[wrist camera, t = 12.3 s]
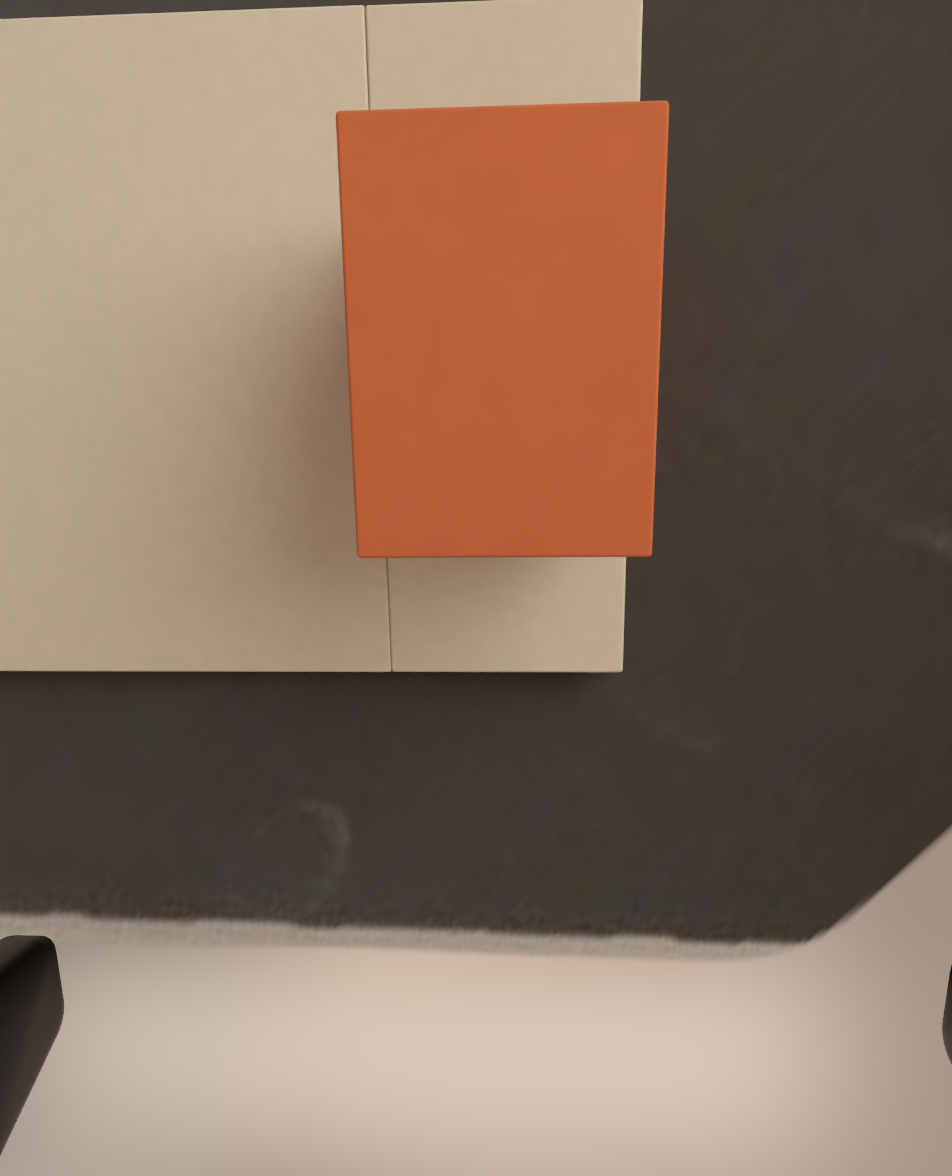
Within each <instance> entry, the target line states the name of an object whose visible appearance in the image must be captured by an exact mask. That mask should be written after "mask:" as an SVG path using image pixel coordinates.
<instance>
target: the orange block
mask: <svg viewBox="0 0 952 1176" xmlns="http://www.w3.org/2000/svg"><path fill="white" fill-rule="evenodd" d="M668 124H669V103H668V101H634V102H603V103H571V104H540V105H508V106H477V107H445V108H414V109H382V110H351V111H338V112H337V113H336V133H337V153H338V174H339V194H340V215H341V235H342V256H343V276H344V297H345V317H346V338H347V358H348V379H349V399H350V420H351V440H352V461H353V481H354V502H355V522H356V543H357V555H358V557H360V558H486V557H649V556H651V554H652V538H653V512H654V487H655V461H656V435H657V409H658V383H659V357H660V331H661V306H662V280H663V254H664V228H665V202H666V176H667V150H668Z"/></svg>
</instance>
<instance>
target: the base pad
mask: <svg viewBox="0 0 952 1176" xmlns="http://www.w3.org/2000/svg"><path fill="white" fill-rule="evenodd" d="M642 13H643V0H496V1H470V2H444V3H418V4H393V5H368V6H366V8H364V6H362V5H355V6H330V7H304V8H278V9H252V10H226V11H200V12H175V13H149V14H123V15H97V16H71V17H46V18H20V19H0V671H220V672H390V671H391V670H392V671H394V672H622V670H623V642H624V609H625V576H626V557H486V558H360V557H358V555H357V543H356V522H355V502H354V481H353V461H352V440H351V420H350V399H349V379H348V358H347V338H346V317H345V297H344V276H343V256H342V235H341V215H340V194H339V174H338V153H337V133H336V113H337V112H338V111H351V110H382V109H414V108H445V107H477V106H508V105H540V104H571V103H603V102H634V101H640V79H641V46H642Z"/></svg>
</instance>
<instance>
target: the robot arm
mask: <svg viewBox="0 0 952 1176" xmlns="http://www.w3.org/2000/svg"><path fill="white" fill-rule="evenodd" d="M63 1014H64V1000H63V994H62V987H61V980H60V974H59V967H58V960H57V954H56V949H55V945H54V944H53V942H52V940H51V939H49V938H47V937H45V936H21V935H15V936H8V937H5V938H3V939H1V940H0V1155H1V1153H2V1151H3V1149H4V1147H5V1144H6V1142H7V1140H8V1138H9V1136H10V1134H11V1132H12V1130H13V1128H14V1125H15V1123H16V1121H17V1119H18V1117H19V1115H20V1113H21V1111H22V1108H23V1106H24V1104H25V1102H26V1100H27V1098H28V1096H29V1094H30V1091H31V1089H32V1087H33V1085H34V1083H35V1081H36V1079H37V1077H38V1075H39V1072H40V1070H41V1068H42V1066H43V1064H44V1062H45V1060H46V1058H47V1055H48V1053H49V1051H50V1049H51V1047H52V1044H53V1043H54V1040H55V1038H56V1036H57V1034H58V1032H59V1029H60V1026H61V1023H62V1019H63ZM942 1030H943V1040H944V1045H945V1048H946V1051H947V1054H948V1056H949V1059H950V1061H951V1064H952V966H951V970H950V977H949V983H948V990H947V996H946V1003H945V1010H944V1017H943V1026H942Z"/></svg>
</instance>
